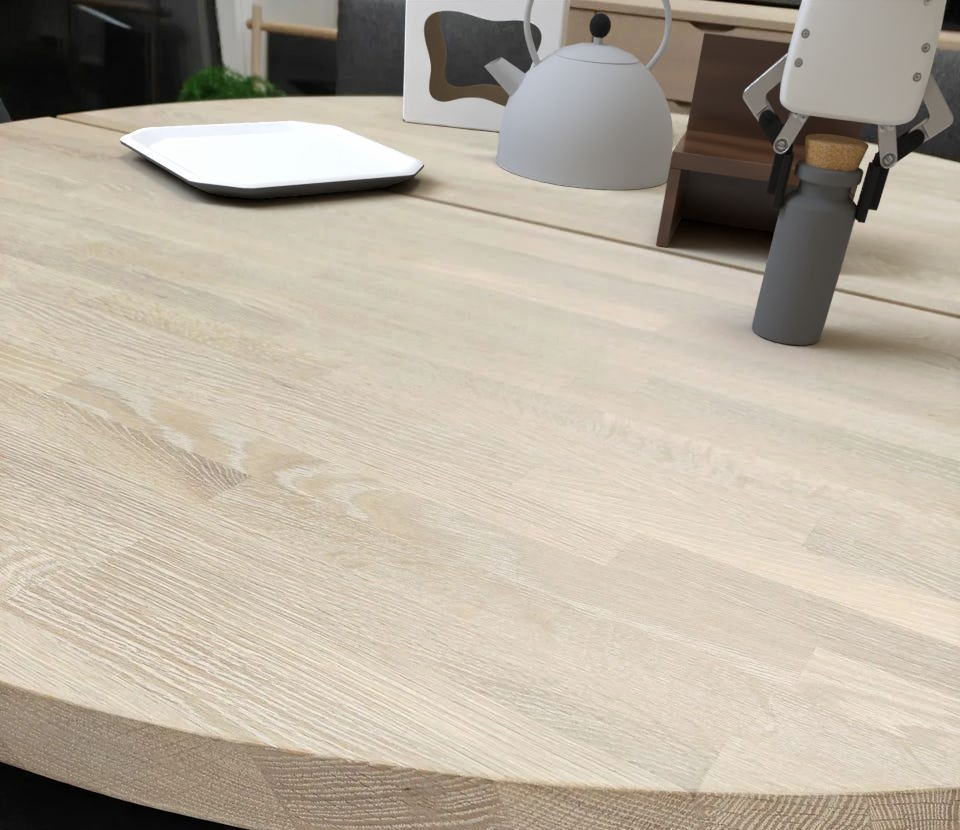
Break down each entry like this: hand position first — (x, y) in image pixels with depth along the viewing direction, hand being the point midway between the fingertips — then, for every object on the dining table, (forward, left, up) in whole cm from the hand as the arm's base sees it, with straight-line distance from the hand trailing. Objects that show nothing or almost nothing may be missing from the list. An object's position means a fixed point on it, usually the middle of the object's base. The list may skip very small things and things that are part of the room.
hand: (818, 210), depth 79 cm
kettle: (-16, -57, -10) cm, 60 cm away
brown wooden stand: (-16, -23, -10) cm, 30 cm away
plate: (+23, -62, -10) cm, 67 cm away
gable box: (-18, -85, -10) cm, 87 cm away
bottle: (0, 0, -10) cm, 10 cm away
